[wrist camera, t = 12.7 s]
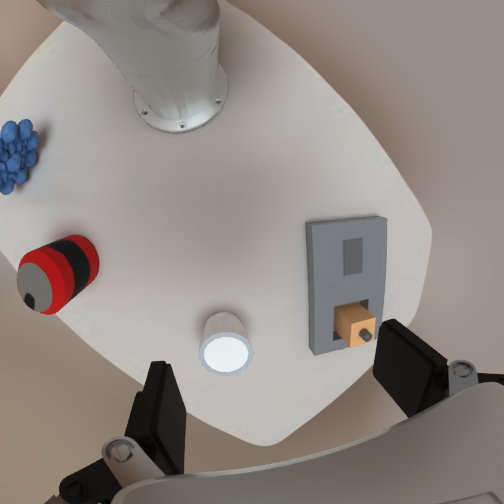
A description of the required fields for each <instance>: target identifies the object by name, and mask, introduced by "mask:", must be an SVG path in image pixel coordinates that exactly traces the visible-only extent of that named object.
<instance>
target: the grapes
mask: <svg viewBox="0 0 504 504" xmlns="http://www.w3.org/2000/svg"><path fill="white" fill-rule="evenodd" d="M32 130H33V124H32V123H31V121H30V120H28V119H24V120H22V121H20V122H19V124H18V125H17V124H16V122H14V121H8V122H6V123H5V124H4V125H3V127H2V129H1V133H0V137H1V139H0V192H1V193H2V194H4V195H8V194H10V193H11V192H12V191H13V189H14V183H15V184H18V185H19V184H22V183H23V182H25V180H26V178H27V169H26V168H29V167H32V166H33V165H34V164H35V162H36V158H37V155H36V152H35V150H34V149H35V148H36V147H37V146H38V144H39V135H38V133H37V132H36V131H32ZM25 167H26V168H25Z"/></svg>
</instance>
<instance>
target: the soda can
mask: <svg viewBox="0 0 504 504" xmlns="http://www.w3.org/2000/svg"><path fill="white" fill-rule="evenodd" d="M98 267H99V261H98V256H97V253H96V251H95V249H94V247H93V246H92V244H91V243H90V242H89V241H88V240H87V239H85V238H84V237H82V236H79V235H71V236H68V237H65V238H63V239H60V240H58V241H55V242H52V243H50V244H47V245H45V246H42V247H40V248H38V249H35V250H33V251H30V252H28V253H27V254H25V255H24V256H23V258H22V259H21V261H20V264H19V268H18V273H17V286H18V290H19V293H20V295H21V297H22V299H23V301H24V302H25V303H26V305H27V306H28V307H30V308H31V309H32V310H34V311H37V312H40V313H42V314H46V315H51V314H55V313H56V312H58V311H59V310H60V309H61V308H63V307H64V306H65V305H66V304H67V303H68V302H69V301H70V300H72V299H73V298H74V297H75V296H76V295H77V294H78V293H80V292H81V291H82V290H83V289H84V288H85V287H87V286H88V285H89V284H90V283H91V282H92V281H93V280H94V279H95V277H96V275H97V272H98Z"/></svg>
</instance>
